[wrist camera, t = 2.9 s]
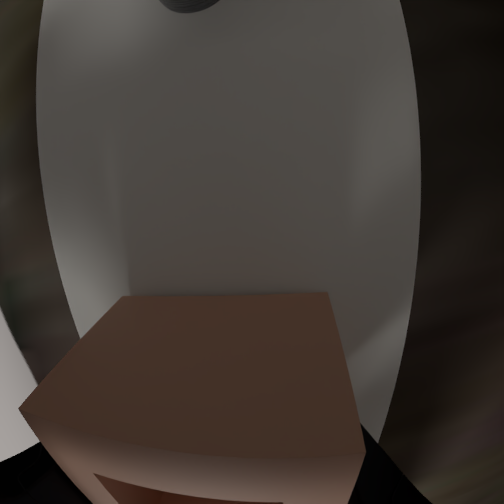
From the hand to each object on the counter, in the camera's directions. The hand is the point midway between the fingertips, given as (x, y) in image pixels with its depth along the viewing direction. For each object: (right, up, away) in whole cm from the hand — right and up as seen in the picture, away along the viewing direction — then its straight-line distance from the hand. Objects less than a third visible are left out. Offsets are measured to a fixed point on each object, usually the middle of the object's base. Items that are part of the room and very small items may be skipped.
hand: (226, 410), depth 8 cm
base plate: (0, +6, 0) cm, 6 cm away
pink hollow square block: (0, 0, +1) cm, 1 cm away
